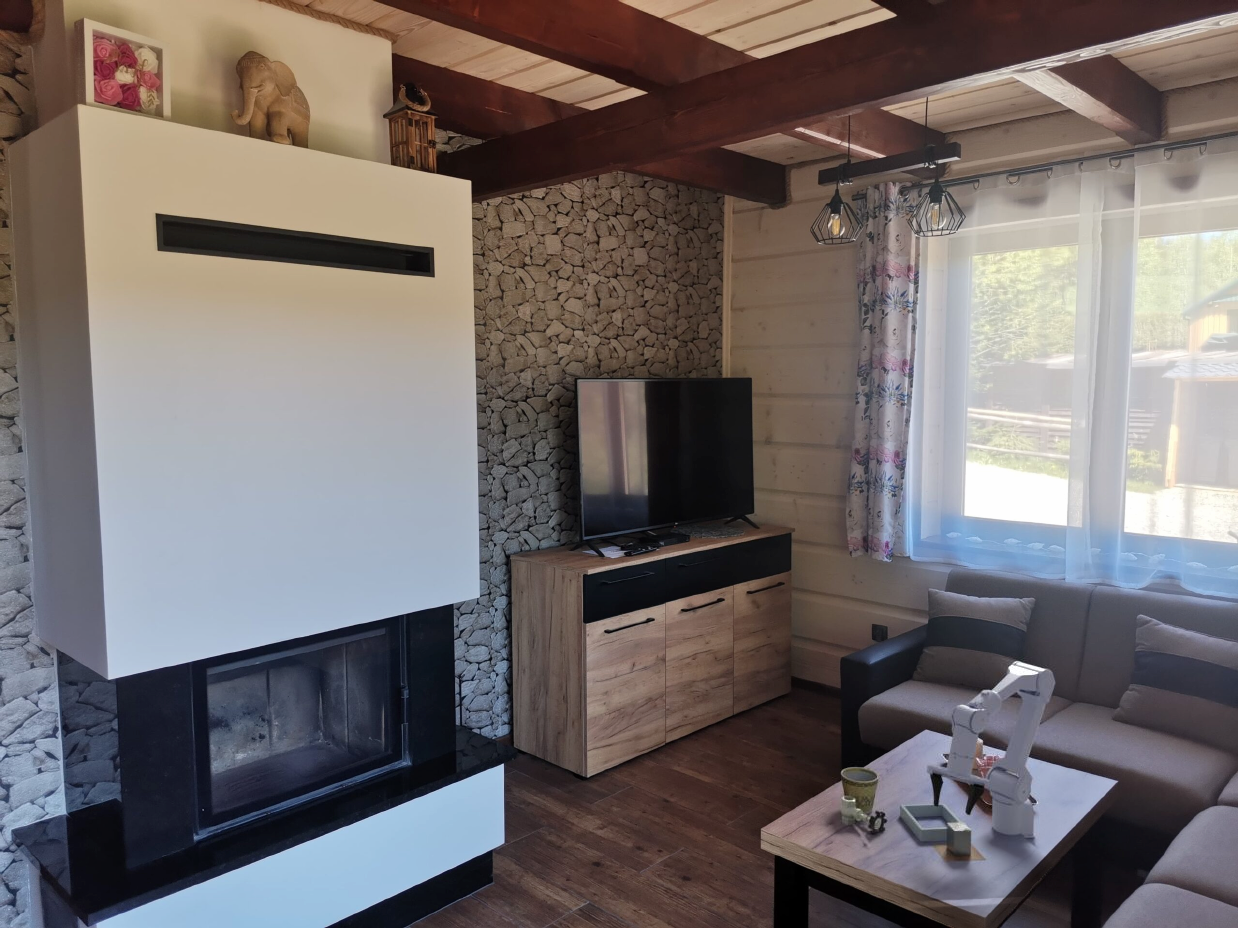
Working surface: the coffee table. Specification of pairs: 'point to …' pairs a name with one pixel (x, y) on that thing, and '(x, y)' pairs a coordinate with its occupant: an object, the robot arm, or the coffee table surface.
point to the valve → (860, 815)
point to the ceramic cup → (860, 786)
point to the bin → (927, 810)
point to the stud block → (949, 857)
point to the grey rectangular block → (958, 839)
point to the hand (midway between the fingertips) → (951, 809)
